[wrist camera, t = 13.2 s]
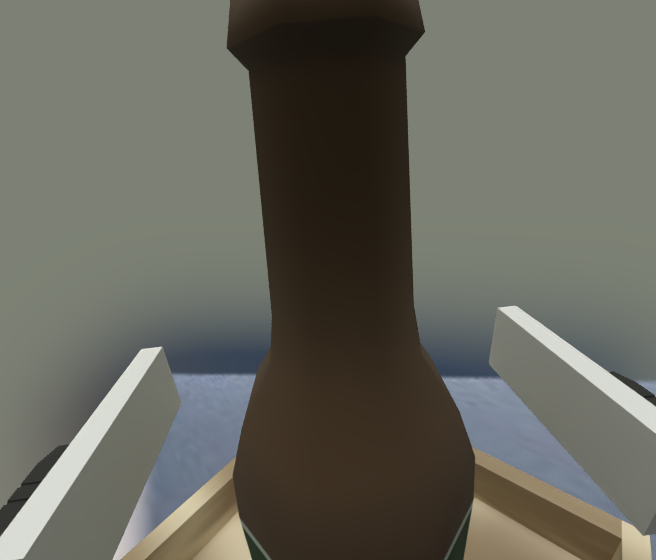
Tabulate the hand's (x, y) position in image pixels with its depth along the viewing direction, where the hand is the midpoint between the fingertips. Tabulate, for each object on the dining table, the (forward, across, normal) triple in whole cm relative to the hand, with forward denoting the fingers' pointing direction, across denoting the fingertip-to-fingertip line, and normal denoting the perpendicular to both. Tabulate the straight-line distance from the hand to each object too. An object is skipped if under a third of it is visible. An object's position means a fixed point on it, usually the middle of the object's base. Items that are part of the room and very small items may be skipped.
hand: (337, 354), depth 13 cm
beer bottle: (-3, 0, -14) cm, 14 cm away
